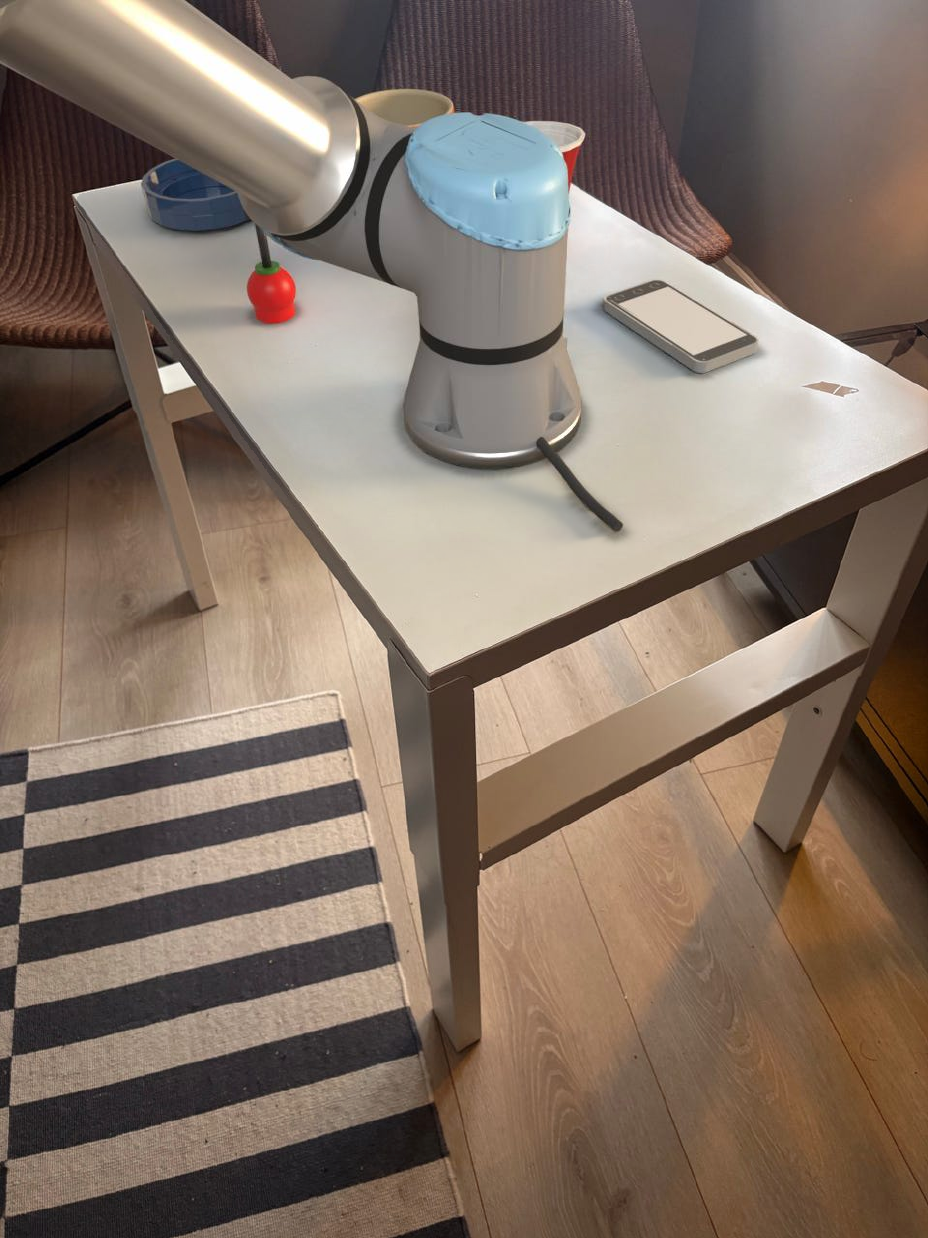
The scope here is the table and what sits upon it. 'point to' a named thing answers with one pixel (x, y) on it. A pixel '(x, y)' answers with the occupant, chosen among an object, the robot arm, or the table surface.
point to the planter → (407, 105)
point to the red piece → (270, 286)
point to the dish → (189, 198)
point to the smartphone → (680, 325)
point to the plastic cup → (563, 140)
